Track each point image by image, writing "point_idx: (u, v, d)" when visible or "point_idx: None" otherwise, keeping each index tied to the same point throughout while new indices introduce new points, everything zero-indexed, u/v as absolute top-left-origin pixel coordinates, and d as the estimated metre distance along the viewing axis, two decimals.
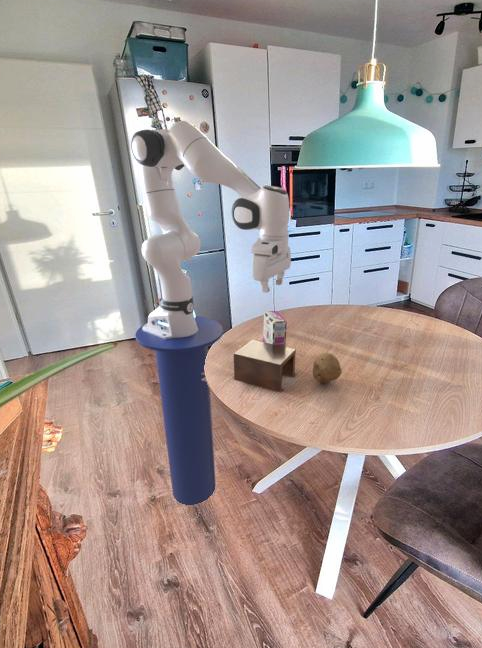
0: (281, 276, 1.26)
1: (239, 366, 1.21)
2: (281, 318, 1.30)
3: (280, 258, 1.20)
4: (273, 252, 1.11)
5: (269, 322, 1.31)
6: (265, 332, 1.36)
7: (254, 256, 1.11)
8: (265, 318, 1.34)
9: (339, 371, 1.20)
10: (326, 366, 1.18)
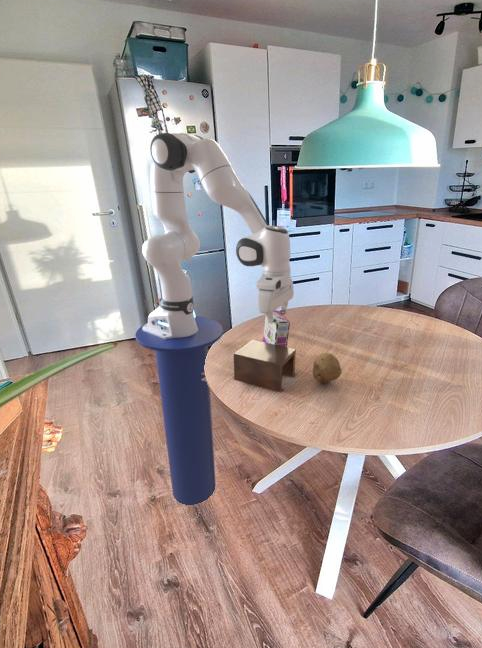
0: (285, 306, 1.34)
1: (239, 366, 1.21)
2: (284, 318, 1.30)
3: (283, 290, 1.29)
4: (277, 287, 1.19)
5: None
6: (266, 331, 1.35)
7: (259, 291, 1.20)
8: None
9: (339, 371, 1.20)
10: (326, 366, 1.18)
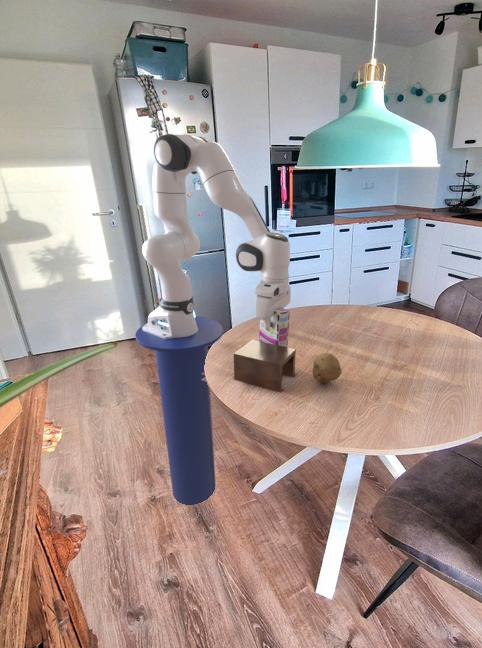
0: None
1: (239, 366, 1.21)
2: (282, 309, 1.29)
3: (281, 296, 1.30)
4: (275, 294, 1.21)
5: None
6: (263, 325, 1.33)
7: (257, 297, 1.21)
8: None
9: (339, 371, 1.20)
10: (326, 366, 1.18)
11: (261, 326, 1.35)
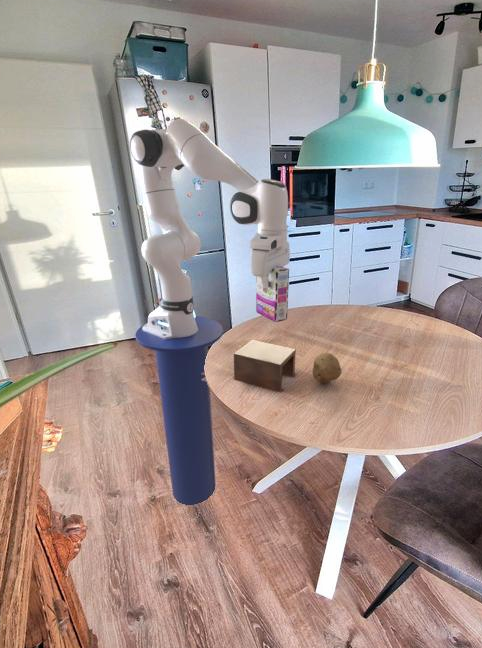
0: None
1: (239, 366, 1.21)
2: (281, 267, 1.17)
3: (279, 253, 1.18)
4: (272, 247, 1.08)
5: None
6: (261, 286, 1.21)
7: (253, 251, 1.09)
8: None
9: (339, 371, 1.20)
10: (326, 366, 1.18)
11: (258, 288, 1.23)
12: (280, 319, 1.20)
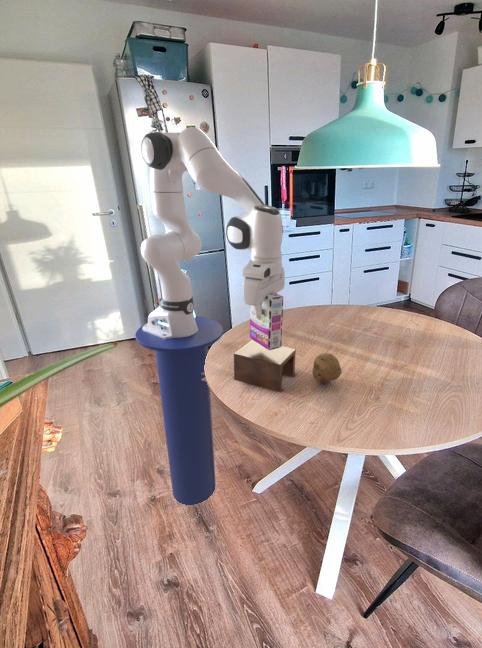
0: None
1: (239, 366, 1.21)
2: (275, 294, 1.13)
3: (273, 280, 1.14)
4: (265, 275, 1.05)
5: None
6: (254, 312, 1.18)
7: (245, 279, 1.05)
8: None
9: (339, 371, 1.20)
10: (326, 366, 1.18)
11: (252, 314, 1.19)
12: (274, 347, 1.17)
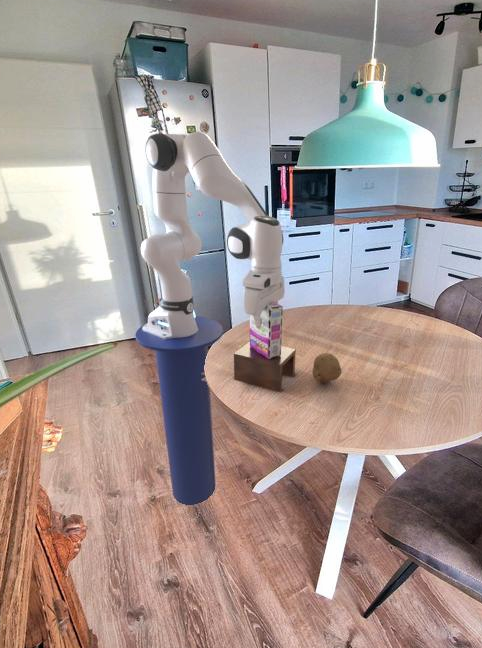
0: None
1: (239, 366, 1.21)
2: (274, 303, 1.15)
3: (273, 289, 1.15)
4: (265, 285, 1.06)
5: None
6: (254, 322, 1.19)
7: (245, 289, 1.06)
8: None
9: (339, 371, 1.20)
10: (326, 366, 1.18)
11: (251, 324, 1.20)
12: (274, 356, 1.18)
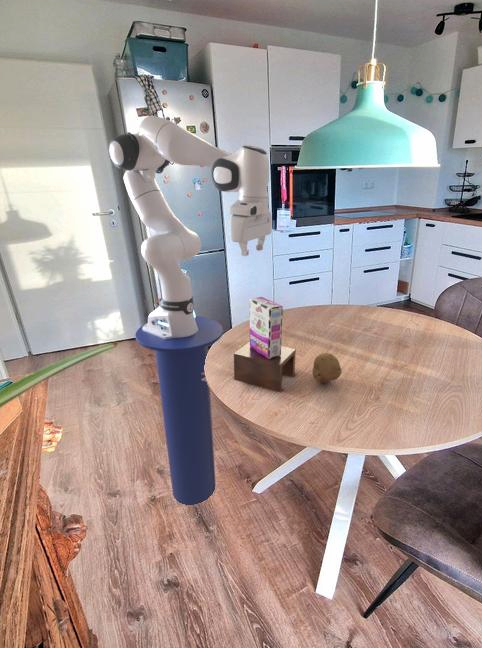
0: (262, 241, 1.25)
1: (239, 366, 1.21)
2: (274, 303, 1.15)
3: (260, 222, 1.19)
4: (251, 213, 1.10)
5: (261, 309, 1.14)
6: (254, 322, 1.19)
7: (232, 217, 1.10)
8: (253, 306, 1.17)
9: (339, 371, 1.20)
10: (326, 366, 1.18)
11: (251, 324, 1.20)
12: (274, 356, 1.18)
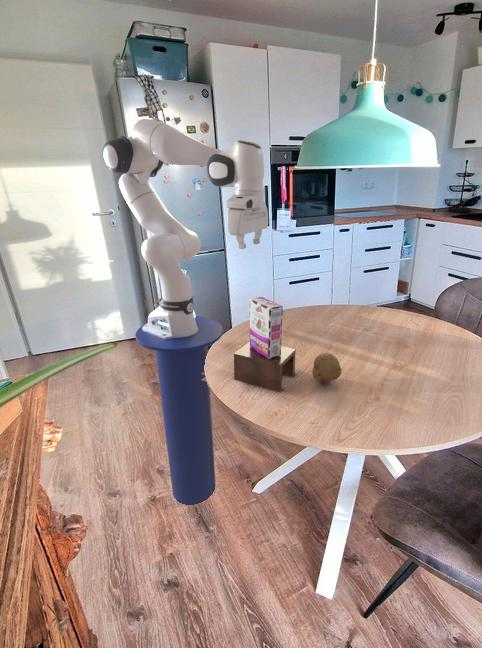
0: (258, 235, 1.27)
1: (239, 366, 1.21)
2: (274, 303, 1.15)
3: (256, 215, 1.21)
4: (247, 206, 1.12)
5: (261, 309, 1.14)
6: (254, 322, 1.19)
7: (229, 210, 1.13)
8: (253, 306, 1.17)
9: (339, 371, 1.20)
10: (326, 366, 1.18)
11: (251, 324, 1.20)
12: (274, 356, 1.18)
